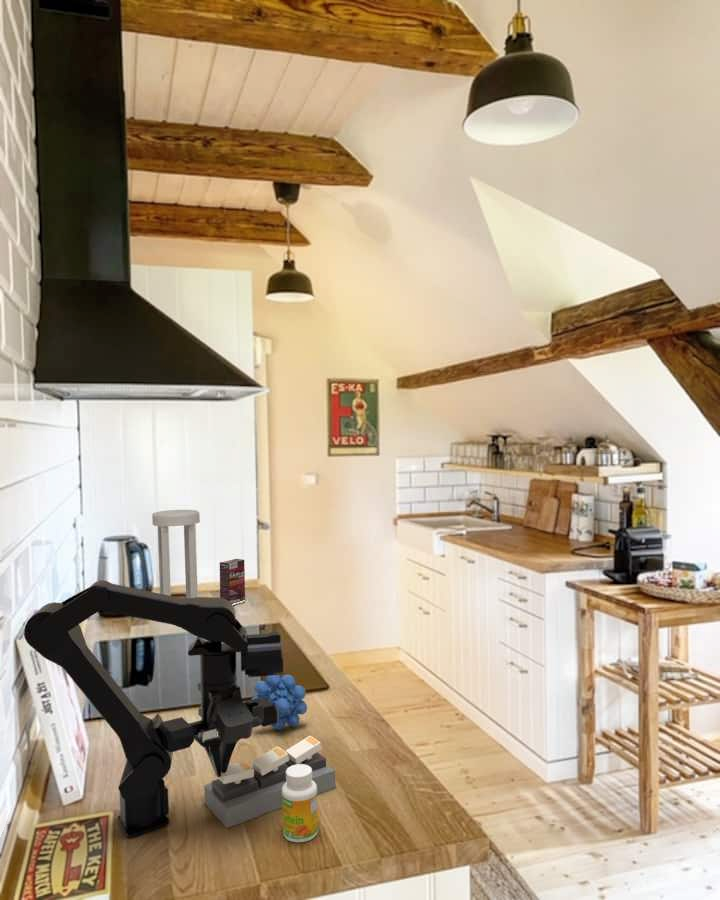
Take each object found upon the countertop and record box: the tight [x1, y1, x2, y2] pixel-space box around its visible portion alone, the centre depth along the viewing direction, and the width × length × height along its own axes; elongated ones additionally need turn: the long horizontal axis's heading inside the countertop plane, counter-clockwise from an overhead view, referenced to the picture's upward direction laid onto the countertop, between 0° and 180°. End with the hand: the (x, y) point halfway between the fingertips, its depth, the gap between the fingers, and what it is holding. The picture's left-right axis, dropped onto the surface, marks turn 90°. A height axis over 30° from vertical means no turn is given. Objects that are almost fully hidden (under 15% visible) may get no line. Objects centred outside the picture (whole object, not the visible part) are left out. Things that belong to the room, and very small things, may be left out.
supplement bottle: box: [281, 764, 319, 843], centre depth 104 cm, size 5×5×10 cm
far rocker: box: [285, 735, 323, 764], centre depth 119 cm, size 5×4×2 cm
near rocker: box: [214, 760, 254, 784], centre depth 111 cm, size 5×4×2 cm
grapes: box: [251, 674, 308, 731], centre depth 140 cm, size 12×7×12 cm, turn 109°
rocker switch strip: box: [203, 751, 337, 829], centre depth 115 cm, size 20×9×4 cm, turn 124°
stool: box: [151, 509, 201, 598], centre depth 238 cm, size 16×16×35 cm
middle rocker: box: [250, 745, 289, 776], centre depth 115 cm, size 5×4×2 cm
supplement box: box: [219, 558, 246, 604], centre depth 246 cm, size 9×5×16 cm, turn 147°
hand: (220, 775), depth 110 cm, fingers closed, pressing on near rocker
